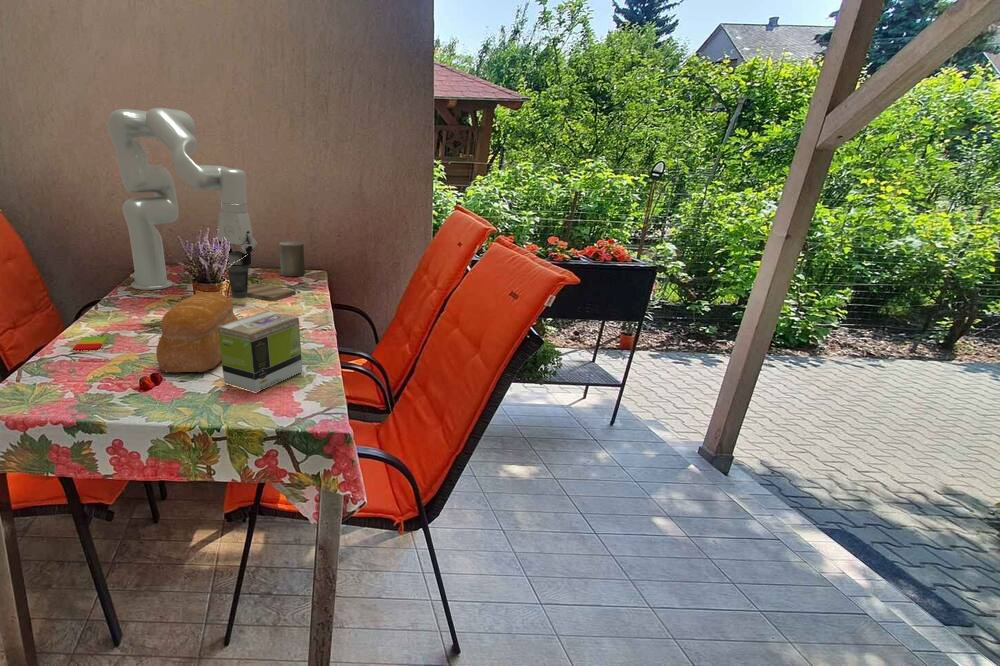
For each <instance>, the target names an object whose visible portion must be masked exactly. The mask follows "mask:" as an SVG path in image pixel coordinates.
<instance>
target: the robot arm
mask: <svg viewBox="0 0 1000 666" xmlns="http://www.w3.org/2000/svg"><path fill="white" fill-rule="evenodd" d="M107 131H108V134H109V137H110V140H111V142H112V145H113V146H114V149H115V153H116V157H117V158H116V159H117V165H118V169H119V173H120V177H121V178H120V179H121V182H122V185H123V187H124V189H125V190H126V191H128V192H129V193H134V194H150V193H151V194H152V193H153V196H139V197H138V196H137V197H132V198H127V200H125V201H124V202H123V203H122V208H121V209H122V214H123V218H124V220H125V223H126V226H127V229H128V234H129V241H130V246H131V254H132V260H133V262H132V263H133V268H134V272H133V273H130V275H129V276H130V278H133V279H134V281H132V282H131V283H130V284H131V287H132V288H133V289H136V290H140V291H141V290H142V291H143V290H144V291H145V290H146V291H149V290H151V291H152V290H162V289H168V288H170V287H172V286H173V281H172V280H169V279H168V278H167V268H166V261H165V260H166V259H165V253H164V251H165V250H164V244H163V238H162V235H161V233H160V231H159V230H158V229H157V228H156V227H155V225H162V224H163V225H164V224H170V223H171V224H172V223H174V222H175V221H176V220H178V218H179V214H180V213H179V212H180V211H179V209H180V208H179V202H178V196H177V192H176V186H175V181H174V177H173V175H172V174H171V172H170V171H169V170H168V169H167V168H166V167H165V166H162V165H159V164H149V161H148V156H147V151H146V150H145V148H144V147H143V145H142V144H141V143H140V141H139V140H138V139H137V138H145V139H146V138H148V139H158V140H160V142H162V144H164V146H165V147H166V148H167V149H168V150H170V152H171V161H172V165H173V169H174V170H175V172H176V173H177V174H178V176H179V178H181V180H183V181H184V182H185V183H186V184H187V185H188V186H189V187H191V188H192V189H193V190H198V191H217V190H219V192H220V194H219V195H220V204H219V206H220V208H221V210H220V211H219V214H218V222H217V223H218V224H217V226H218V227H217V229H218V230H217V231H218V232H217V234H216V235H215V238H216V237H218V240H217V241H218V244H219V245H220V244H221V242H222V238H224V237H225V238H226V239H227V240H228V241H229V242H230V251H229V254H230V253H231V252H233V248H232V246H233V245H235V246H240V248H241V250H242V258H243V257H244V256H245V255H247V254H248V255H247V256H246V257H244V258H243V259H242V264H243V265H249V266H250V265H252V253H253V251H254V249H256V246H257V245H258V242H257V240H256V239H255V238H254V236H253V230H252V224H251V223H252V222H251V219H250V215H249V213H248V197H247V194H248V193H247V180H246V178H247V177H246V173H245V171H244V170H242V169H239V168H230V167H227V166H224V165H212V164H211V165H209V164H208V165H206V164H205V165H204V164H196V162H194V161H193V159H192V158H190V156H192V155H193V154H194V153H196V150H197V149H198V146H199V145H198V140H197V139H196V137H195V136H194V133H195V131H196V123H195V121H194V118H192V116H191V115H190V114H189V113H187V112H185V111H184V110H179V109H175V108H174V109H172V108H166V107H154V108H151V109H148V111H147V110H146V111H145V110H141V109H131V108H121V109H116V110H113V111H112V112H111V113H110V114H109V115H108V118H107Z"/></svg>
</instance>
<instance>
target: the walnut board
mask: <svg viewBox="0 0 1000 666" xmlns="http://www.w3.org/2000/svg"><path fill="white" fill-rule="evenodd" d="M296 293H297V292H296V290H293V289H288V288H282V287H278V286H271V285H265V284H261V283H253V284H250V285H248V291H247V297H246V298H252V297H253V298H252V299H257V298H258V300H263V301H268V302H272V301H273V302H277V301H280V300H283V299H286V297H287V298H289V296H290V297H293V296H296V295H295V294H296ZM292 295H293V296H292Z"/></svg>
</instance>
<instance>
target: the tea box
mask: <svg viewBox="0 0 1000 666" xmlns="http://www.w3.org/2000/svg"><path fill="white" fill-rule="evenodd" d="M299 319H300V318H299V317H298V316H293V315H289V314H283V313H278V312H275V311H269V310H267V311H263V312H259V313H257V314H254V315H250V316H248V317H244V318H241V319H238V320H237V321H234V322H230V323H228V324H224V325H221V326H218V332H219V342H220V350H221V359H222V360H221V365H222V366H221V367H222V376H223V383H224V382H225V383H228V384H231V385H235V386H238V387H241V388H244V389H247V390H250V391H254V392H257V391H259V390H262V389H264V388H266V387H269V386H271V385H273V384H275V383H278V382H280V381H282V380H284V381H286V380H288V379H290V378H292V377H294V375H295V376H296V374H297V375H299V374H301V373H303V362H302V361H303V360H302V349H301V348H302V345H301V335H300V334H301V333H300V320H299ZM300 372H301V373H300ZM298 373H299V374H298ZM291 376H292V377H291ZM289 377H290V378H289ZM287 378H288V379H287ZM285 379H286V380H285ZM282 382H283V381H282ZM280 383H281V382H280ZM278 384H279V383H278ZM275 385H276V384H275ZM273 386H274V385H273ZM271 387H272V386H271ZM269 388H270V387H269Z"/></svg>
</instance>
